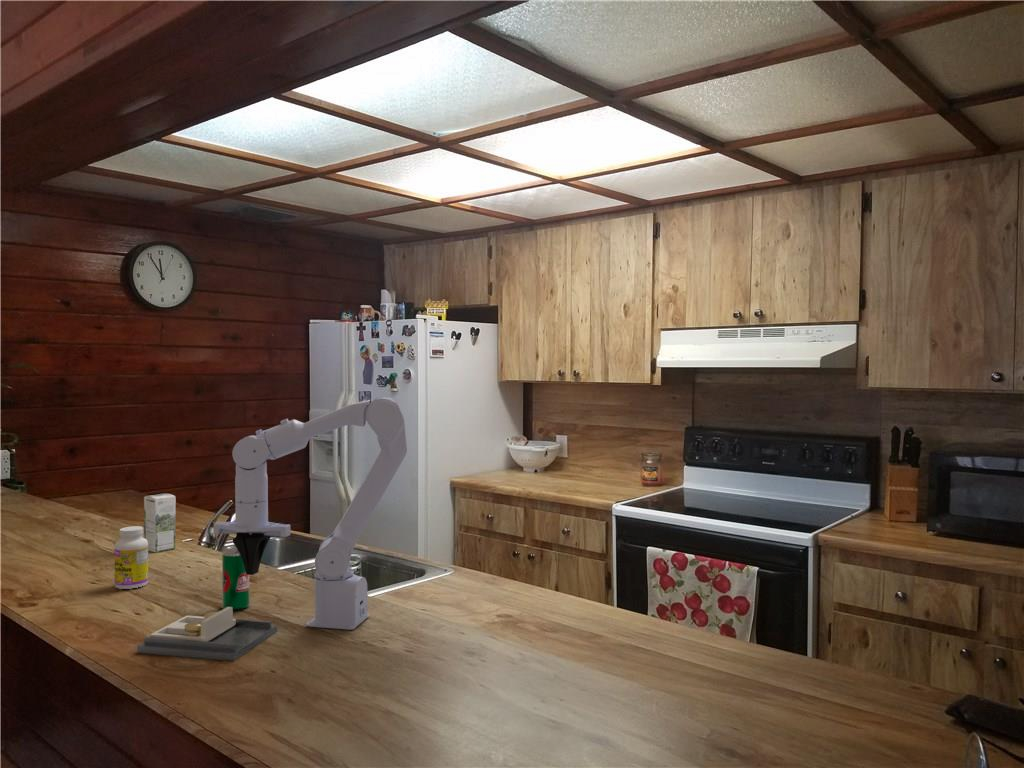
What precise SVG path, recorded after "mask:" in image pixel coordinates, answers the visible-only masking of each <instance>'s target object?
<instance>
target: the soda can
mask: <svg viewBox="0 0 1024 768" xmlns="http://www.w3.org/2000/svg"><path fill="white" fill-rule="evenodd" d="M221 558H222V559H221V560H222V561H221V562H222V567H221V568H222V570H221V571H222V572H221V573H222V608H223V609H225V608H226V607H233V610H238V609H242V610H244V608H245V609H246V607H248V606H250V575H246V571H245V567H244V564H243V561H242V558H241V555H240V553H239V551H238V549H237V548H236V546H235V545H231V546H228V547H225V548H224V551H223V553H222V555H221ZM238 611H239V610H238Z"/></svg>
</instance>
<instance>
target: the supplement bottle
mask: <svg viewBox="0 0 1024 768" xmlns="http://www.w3.org/2000/svg"><path fill="white" fill-rule="evenodd" d="M143 535H144V527H143V526H140V525H138V526H137V525H136V526H127V527H122V528H120V529H119V537H120V539H119V540H117V541H116V542H115V544H114V587H115V589H117V588H118V589H117V590H122V589H130V590H132V589H131V588H137V589H139V588H138V587H141V588H142V586H143V587H145V586H147V585H148V583H149V551H148V541H147V540H146V539H145V538H144V537H143Z"/></svg>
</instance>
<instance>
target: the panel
mask: <svg viewBox="0 0 1024 768" xmlns="http://www.w3.org/2000/svg"><path fill="white" fill-rule="evenodd" d="M218 611H219V610H218ZM233 615H234V611H233V607H226V608H225V609H224V608H223V609H221V610H220V611H219V612H217V613H215V614H214V615H212V616H210V617H208V618H206V619H204V616H203V617H200V616H201V615H200V616H199V615H189V616H187V615H185V616H183V617H181V618H179V619H177V620H175V621H173V622H172V623H170V624H167V625H166V626H163V627H162V628H160V629H158V630H156V631H154V632H152V633H150V635H149V637H157V638H170V639H183V640H195V641H209V640H211V639H213V638H214V637H216V636H218V635H219V634H221V633H223V632H224V631H226V630H228V629H229V628H231V627H233V626H234V625H236V619H237V618H234V616H233ZM191 622H201V635H200V636H187V635H189V633H188V632H186V631H185V625H186V624H188V623H191ZM166 633H171V634H166ZM174 634H184V635H174Z"/></svg>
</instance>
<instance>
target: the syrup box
mask: <svg viewBox="0 0 1024 768" xmlns="http://www.w3.org/2000/svg"><path fill="white" fill-rule="evenodd" d="M176 498H177V497H176V495H174V494H171V493H160V494H154V495H153V494H152V495H145V496H143V504H144V505H143V511H144V512H143V520H144V521H143V522H144V523H143V524H144V525H143V526H144V527H143V538H145V539H146V540H147V541H148V552H151V553H152V552H153V553H159V552H165V551H170V550H175V549H176V504H177V503H176V502H177V501H176Z"/></svg>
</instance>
